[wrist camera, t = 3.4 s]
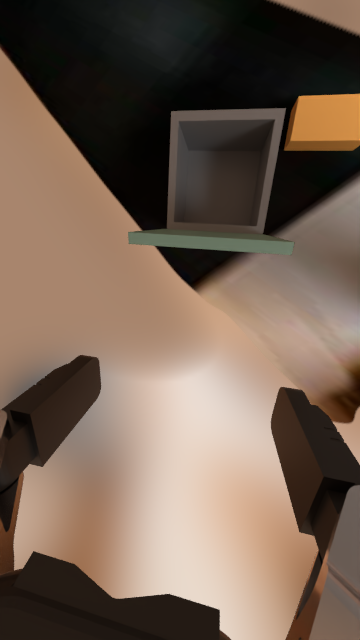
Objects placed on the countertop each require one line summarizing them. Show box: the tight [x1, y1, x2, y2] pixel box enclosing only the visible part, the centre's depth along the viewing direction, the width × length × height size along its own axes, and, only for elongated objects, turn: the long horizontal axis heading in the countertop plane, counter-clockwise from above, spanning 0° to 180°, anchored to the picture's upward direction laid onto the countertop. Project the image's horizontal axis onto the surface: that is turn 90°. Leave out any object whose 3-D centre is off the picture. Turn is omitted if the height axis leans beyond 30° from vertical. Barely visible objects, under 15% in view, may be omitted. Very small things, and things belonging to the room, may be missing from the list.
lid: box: [128, 229, 295, 255], centre depth 20 cm, size 11×11×1 cm
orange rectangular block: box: [284, 94, 360, 151], centre depth 25 cm, size 8×4×3 cm, turn 86°
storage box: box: [167, 108, 286, 234], centre depth 26 cm, size 11×11×8 cm
